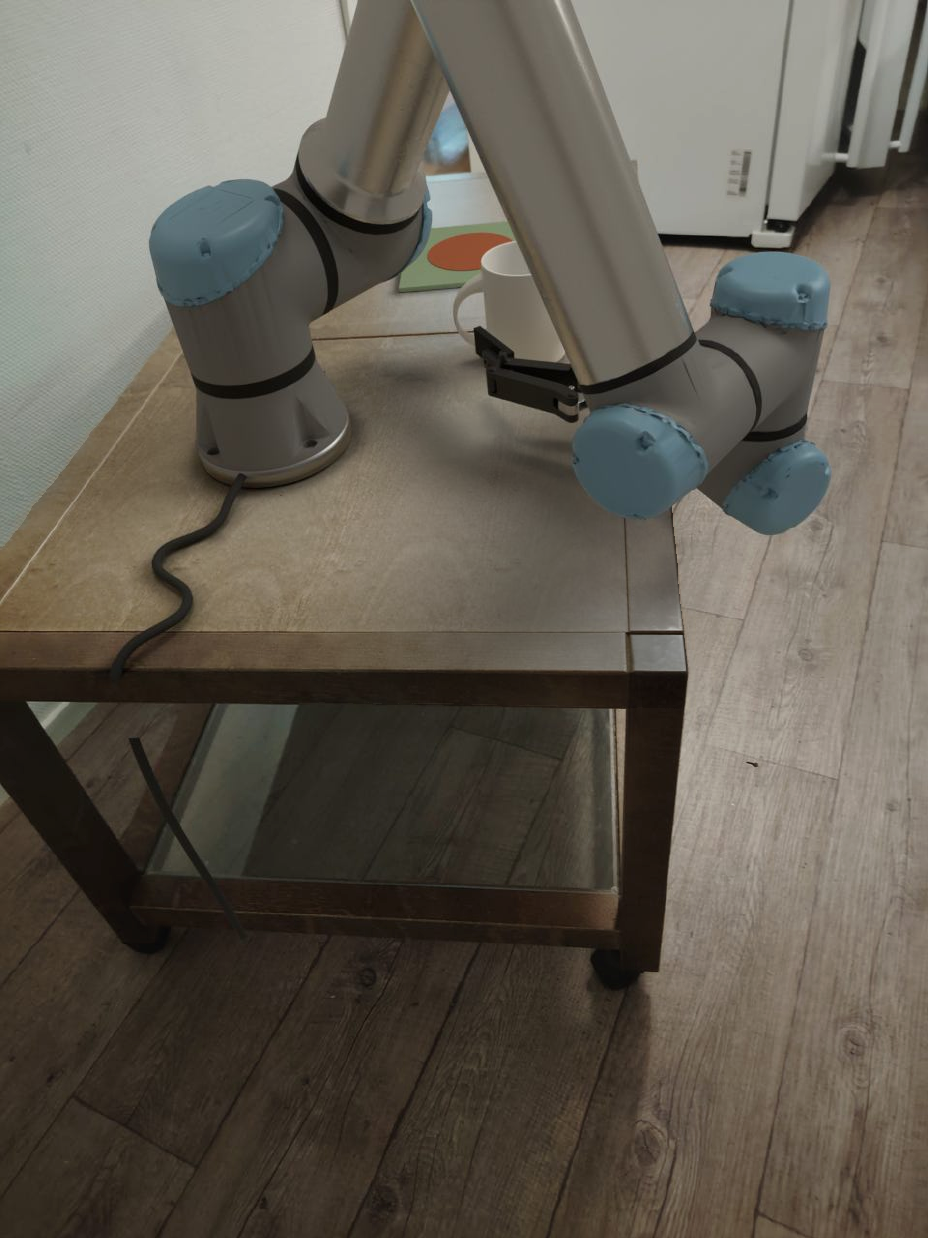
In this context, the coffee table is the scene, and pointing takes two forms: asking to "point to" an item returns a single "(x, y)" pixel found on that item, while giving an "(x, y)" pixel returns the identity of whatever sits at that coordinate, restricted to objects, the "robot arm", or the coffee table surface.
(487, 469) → the coffee table surface
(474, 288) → the mug
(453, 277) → the placemat
